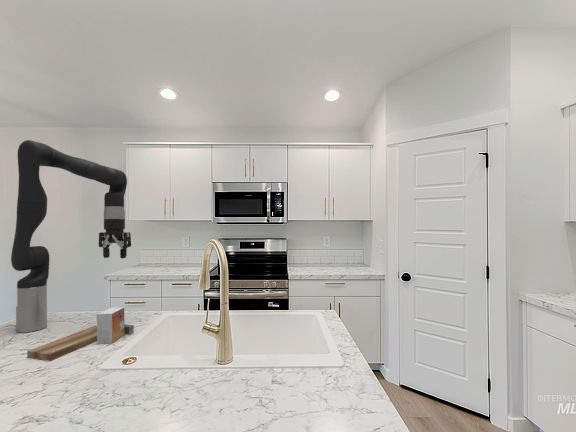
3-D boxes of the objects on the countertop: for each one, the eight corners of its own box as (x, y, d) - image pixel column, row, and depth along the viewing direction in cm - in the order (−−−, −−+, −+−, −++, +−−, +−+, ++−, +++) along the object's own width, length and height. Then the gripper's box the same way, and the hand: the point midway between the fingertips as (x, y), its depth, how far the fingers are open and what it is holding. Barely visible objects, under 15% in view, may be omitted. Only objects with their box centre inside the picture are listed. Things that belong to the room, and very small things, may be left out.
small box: (112, 343, 107) (111, 313, 107) (96, 343, 107) (96, 313, 107) (125, 335, 115) (124, 307, 115) (110, 335, 115) (110, 307, 115)
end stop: (116, 333, 117) (116, 325, 117) (121, 331, 119) (121, 323, 119) (129, 334, 115) (129, 326, 115) (133, 332, 117) (133, 325, 117)
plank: (27, 357, 97) (27, 350, 97) (95, 330, 120) (95, 325, 120) (50, 361, 94) (50, 354, 94) (115, 333, 117) (115, 327, 117)
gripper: (92, 218, 122) (93, 258, 122) (120, 217, 118) (121, 259, 118) (108, 218, 130) (109, 256, 129) (135, 217, 125) (136, 257, 125)
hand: (114, 257), depth 124 cm, fingers open, 8 cm apart
